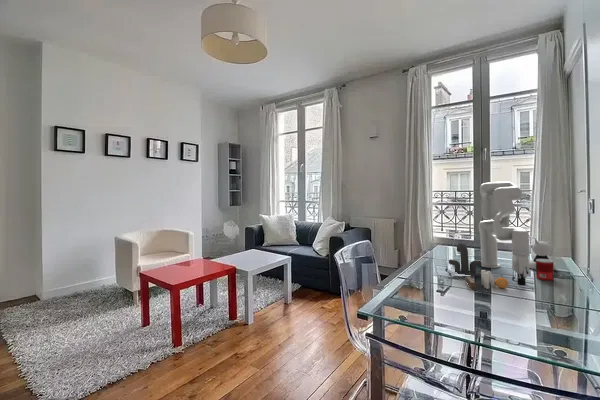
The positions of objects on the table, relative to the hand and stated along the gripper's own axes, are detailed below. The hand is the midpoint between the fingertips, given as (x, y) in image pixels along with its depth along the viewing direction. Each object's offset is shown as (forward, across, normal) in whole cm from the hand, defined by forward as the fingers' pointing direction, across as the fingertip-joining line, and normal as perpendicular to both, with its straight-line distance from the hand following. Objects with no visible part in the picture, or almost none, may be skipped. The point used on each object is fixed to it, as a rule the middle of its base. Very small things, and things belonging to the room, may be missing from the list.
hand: (521, 285), depth 161 cm
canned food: (+2, -17, +18) cm, 25 cm away
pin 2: (+2, +2, -18) cm, 18 cm away
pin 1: (+2, -2, -18) cm, 18 cm away
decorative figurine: (+2, -38, +25) cm, 46 cm away
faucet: (+2, -25, -23) cm, 34 cm away
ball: (-2, +2, -10) cm, 10 cm away
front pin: (+1, 0, -13) cm, 13 cm away
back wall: (+2, 0, -25) cm, 25 cm away
